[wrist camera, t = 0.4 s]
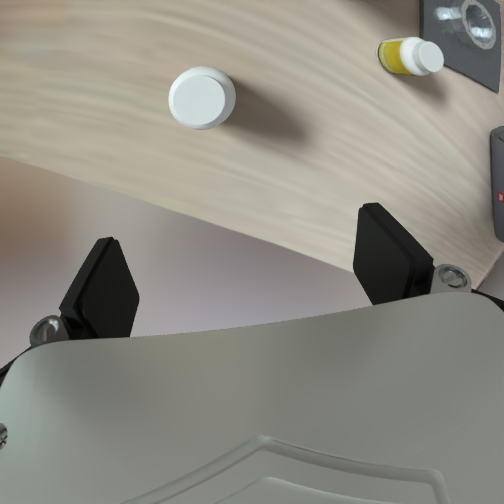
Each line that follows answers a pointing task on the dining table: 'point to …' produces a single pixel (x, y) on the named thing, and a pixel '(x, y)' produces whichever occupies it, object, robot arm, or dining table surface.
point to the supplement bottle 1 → (202, 98)
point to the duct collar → (465, 36)
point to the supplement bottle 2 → (409, 56)
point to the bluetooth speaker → (498, 179)
